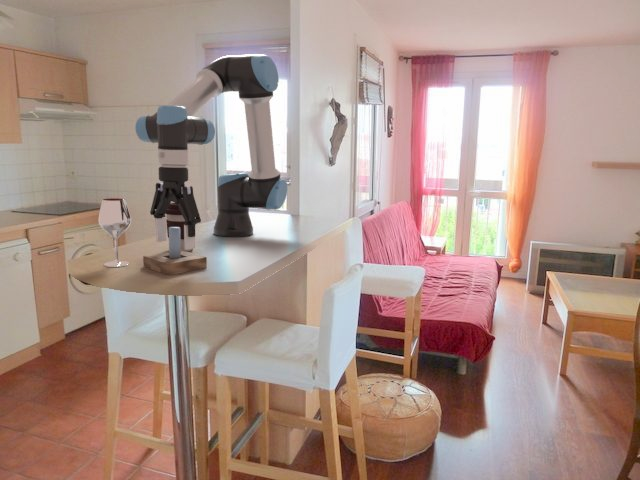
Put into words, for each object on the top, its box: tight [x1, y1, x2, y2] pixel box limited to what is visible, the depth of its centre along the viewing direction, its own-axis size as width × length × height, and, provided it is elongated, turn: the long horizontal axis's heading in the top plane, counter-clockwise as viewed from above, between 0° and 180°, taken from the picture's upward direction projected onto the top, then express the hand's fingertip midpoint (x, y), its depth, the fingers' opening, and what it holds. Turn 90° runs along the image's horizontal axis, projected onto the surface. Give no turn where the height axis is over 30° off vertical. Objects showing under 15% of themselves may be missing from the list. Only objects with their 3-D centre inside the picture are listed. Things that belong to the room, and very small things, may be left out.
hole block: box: [142, 250, 208, 276], centre depth 132 cm, size 12×12×3 cm
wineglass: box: [98, 197, 132, 268], centre depth 131 cm, size 8×8×18 cm
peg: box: [168, 227, 181, 259], centre depth 131 cm, size 3×3×11 cm
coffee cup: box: [165, 202, 194, 252], centre depth 153 cm, size 10×10×15 cm
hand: (175, 245), depth 131 cm, fingers open, 13 cm apart
